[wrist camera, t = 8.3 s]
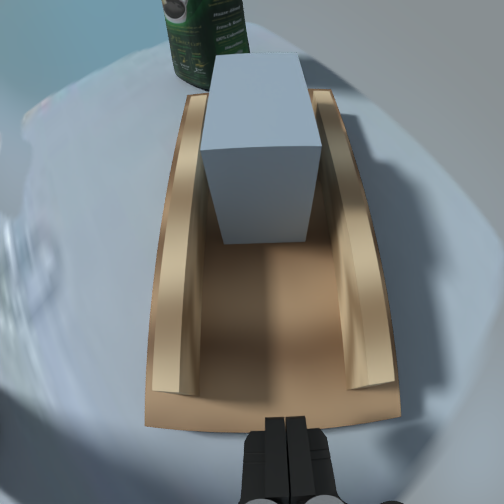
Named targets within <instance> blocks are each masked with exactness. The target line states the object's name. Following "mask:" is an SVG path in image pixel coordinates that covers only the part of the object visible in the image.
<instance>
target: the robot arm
mask: <svg viewBox="0 0 504 504" xmlns="http://www.w3.org/2000/svg"><path fill="white" fill-rule="evenodd" d="M238 504H347V503H345V502H344V501H342V500H341V499H340V497H339V496H338V494H337V491H336V485H335V479H334V474H333V468H332V463H331V459H330V452H329V447H328V441H327V437H326V436H325V434H324V433H323V432H322V431H321V429H320V428H310V429H307V425H306V418H305V416H290V417H285V421H284V417H265V431H250V433H249V435H248V436H247V438H246V440H245V442H244V458H243V474H242V490H241V499H240V502H239V503H238ZM381 504H403V503H401V502H398V501H387V502H383V503H381Z"/></svg>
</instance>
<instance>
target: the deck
mask: <svg viewBox="0 0 504 504" xmlns="http://www.w3.org/2000/svg"><path fill="white" fill-rule="evenodd" d="M308 93H309V96H310V100H311V104H312V108H313V112H314V116H315V120H316V124H317V128H318V132H319V136H320V140H321V145H322V148H321V155H320V161H319V167H318V173H317V179H316V185H315V191H314V197H313V202H312V208H311V214H310V219H309V224H308V230H307V235H306V240H305V242H282V243H251V244H224V243H223V239H222V235H221V231H220V227H219V223H218V220H217V216H216V212H215V208H214V204H213V200H212V196H211V192H210V188H209V184H208V180H207V176H206V172H205V168H204V164H203V160H202V156H201V152H200V148H201V141H202V134H203V128H204V121H205V115H206V109H207V103H208V97H209V93H202V94H193V95H187V99H186V103H185V107H184V111H183V115H182V119H181V124H180V128H179V133H178V137H177V142H176V146H175V151H174V156H173V161H172V166H171V171H170V176H169V182H168V187H167V193H166V198H165V204H164V210H163V216H162V223H161V229H160V236H159V243H158V250H157V258H156V265H155V274H154V282H153V291H152V301H151V311H150V322H149V335H148V349H147V366H146V388H145V426H147V427H155V428H164V429H175V430H187V431H203V432H234V433H250V431H265V417H284V421H285V417H290V416H305V418H306V425H307V429H310V428H320V429H324V428H333V427H341V426H349V425H356V424H363V423H369V422H375V421H381V420H386V419H391V418H396V417H401V406H400V391H399V379H398V368H397V359H396V350H395V342H394V334H393V327H392V320H391V313H390V307H389V301H388V295H387V289H386V284H385V278H384V273H383V268H382V263H381V258H380V253H379V249H378V244H377V240H376V235H375V231H374V227H373V223H372V219H371V215H370V211H369V207H368V203H367V199H366V195H365V192H364V188H363V184H362V181H361V177H360V174H359V170H358V167H357V164H356V160H355V157H354V154H353V151H352V148H351V144H350V141H349V138H348V135H347V132H346V129H345V126H344V123H343V121H342V118H341V115H340V112H339V109H338V107H337V104H336V101H335V98H334V96H333V93H332V91H331V89H308Z"/></svg>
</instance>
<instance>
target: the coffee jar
mask: <svg viewBox="0 0 504 504" xmlns="http://www.w3.org/2000/svg"><path fill="white" fill-rule="evenodd" d="M162 4H163V10H164V15H165V21H166V26H167V31H168V37H169V43H170V49H171V55H172V61H173V66H174V70H175V73H176V75H177V76H178V77H179V78H181V79H182V80H184V81H185V82H187V83H190V84H192V85H194V86H197V87H200V88H203V89H210V86H211V80H212V75H213V69H214V64H215V59H216V56H217V55H229V54H244V53H250V49H249V43H248V38H247V32H246V25H245V19H244V11H243V2H242V0H162Z"/></svg>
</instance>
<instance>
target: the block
mask: <svg viewBox="0 0 504 504" xmlns="http://www.w3.org/2000/svg"><path fill="white" fill-rule="evenodd" d="M321 148H322V145H321V140H320V136H319V132H318V128H317V124H316V120H315V116H314V112H313V108H312V104H311V100H310V96H309V93H308V89H307V85H306V82H305V78H304V75H303V71H302V68H301V64H300V61H299V58H298V54H297V52H270V53H244V54H229V55H217V56H216V59H215V64H214V69H213V75H212V80H211V86H210V91H209V97H208V103H207V109H206V115H205V121H204V128H203V134H202V141H201V148H200V152H201V156H202V160H203V164H204V168H205V172H206V176H207V180H208V184H209V188H210V192H211V196H212V200H213V204H214V208H215V212H216V216H217V220H218V223H219V227H220V231H221V235H222V239H223V243H224V244H251V243H282V242H305V240H306V235H307V230H308V224H309V219H310V214H311V208H312V202H313V197H314V191H315V185H316V179H317V173H318V167H319V161H320V155H321Z"/></svg>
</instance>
